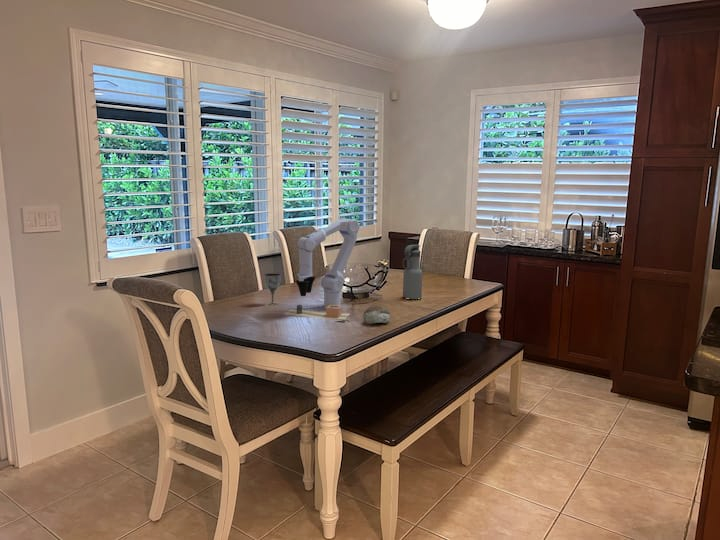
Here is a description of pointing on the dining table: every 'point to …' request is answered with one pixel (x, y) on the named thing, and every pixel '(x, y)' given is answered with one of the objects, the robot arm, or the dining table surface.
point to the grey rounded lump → (376, 315)
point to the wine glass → (272, 284)
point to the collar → (333, 311)
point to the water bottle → (412, 273)
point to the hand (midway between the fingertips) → (305, 294)
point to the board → (314, 314)
